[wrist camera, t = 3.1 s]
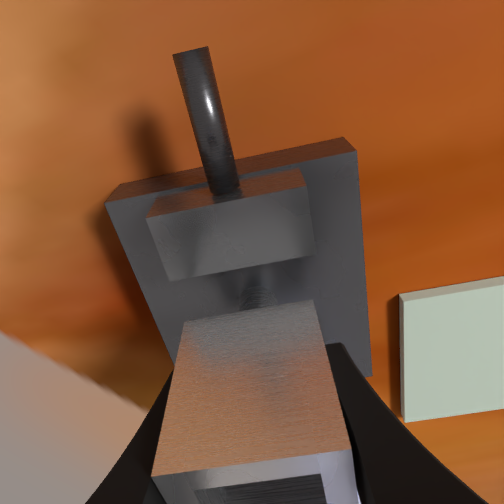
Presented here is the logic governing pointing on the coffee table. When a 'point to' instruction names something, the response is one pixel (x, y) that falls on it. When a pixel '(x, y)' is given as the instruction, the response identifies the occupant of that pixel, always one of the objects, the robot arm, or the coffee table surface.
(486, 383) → the set down mat
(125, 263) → the coffee table surface
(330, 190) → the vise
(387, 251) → the coffee table surface
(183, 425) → the hollow square tube
